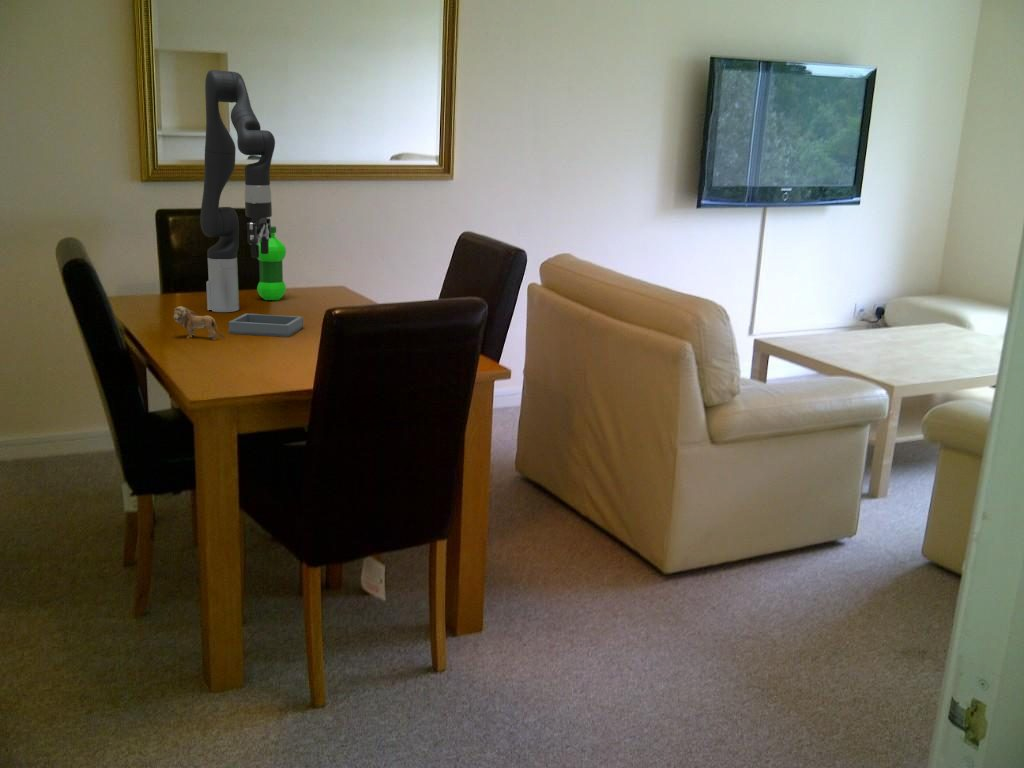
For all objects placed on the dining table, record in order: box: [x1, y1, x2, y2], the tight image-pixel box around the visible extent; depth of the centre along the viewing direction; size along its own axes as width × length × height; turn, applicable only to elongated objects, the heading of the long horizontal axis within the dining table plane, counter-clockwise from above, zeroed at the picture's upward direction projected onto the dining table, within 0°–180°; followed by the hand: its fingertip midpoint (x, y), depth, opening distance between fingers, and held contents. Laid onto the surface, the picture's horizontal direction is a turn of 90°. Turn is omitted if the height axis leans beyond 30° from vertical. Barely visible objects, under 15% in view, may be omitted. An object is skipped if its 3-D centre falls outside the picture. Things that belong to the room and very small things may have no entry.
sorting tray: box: [228, 312, 304, 338], centre depth 311 cm, size 18×13×4 cm
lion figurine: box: [173, 306, 226, 341], centre depth 299 cm, size 15×5×9 cm, turn 86°
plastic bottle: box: [256, 225, 287, 301], centre depth 356 cm, size 10×10×25 cm
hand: (260, 255), depth 307 cm, fingers open, 8 cm apart
